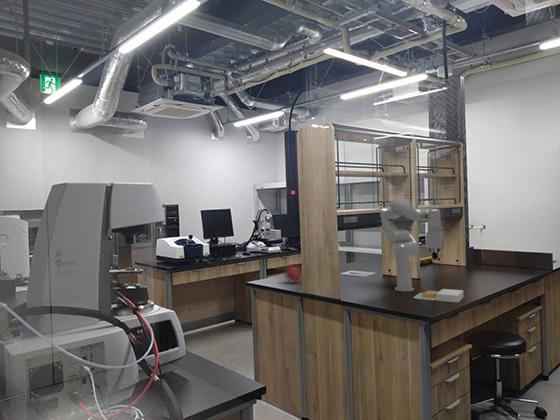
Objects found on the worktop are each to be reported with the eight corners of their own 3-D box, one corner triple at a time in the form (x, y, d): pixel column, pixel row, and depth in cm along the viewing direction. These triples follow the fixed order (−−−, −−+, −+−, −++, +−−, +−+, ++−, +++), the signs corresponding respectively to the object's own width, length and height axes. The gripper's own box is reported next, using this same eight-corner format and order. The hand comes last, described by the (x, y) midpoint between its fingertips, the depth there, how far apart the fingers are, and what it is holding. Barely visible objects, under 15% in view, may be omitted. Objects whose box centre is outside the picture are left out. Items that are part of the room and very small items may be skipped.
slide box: (428, 294, 260) (428, 290, 260) (439, 295, 255) (439, 291, 255) (422, 297, 252) (422, 293, 252) (433, 298, 248) (433, 294, 248)
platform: (442, 295, 257) (442, 288, 257) (463, 297, 250) (463, 290, 250) (436, 300, 244) (436, 293, 244) (458, 302, 237) (458, 295, 237)
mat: (419, 293, 265) (419, 292, 265) (441, 295, 258) (441, 294, 258) (412, 298, 252) (412, 297, 252) (434, 300, 244) (434, 299, 244)
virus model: (282, 284, 311) (281, 265, 311) (287, 281, 326) (286, 262, 325) (301, 285, 307) (300, 265, 307) (305, 281, 322) (305, 262, 322)
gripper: (448, 229, 251) (449, 259, 252) (423, 228, 260) (424, 258, 260) (445, 229, 245) (446, 260, 246) (420, 229, 254) (420, 259, 254)
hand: (435, 259), depth 253 cm, fingers closed
